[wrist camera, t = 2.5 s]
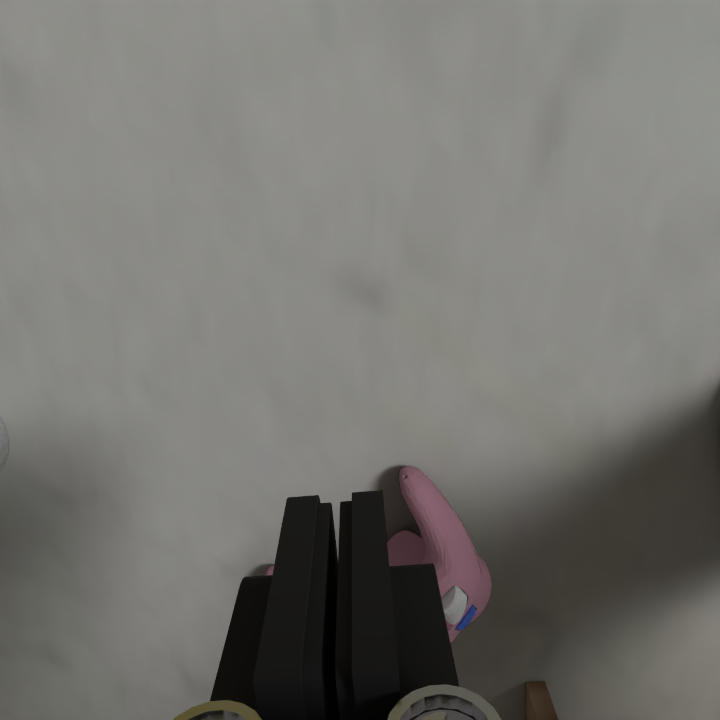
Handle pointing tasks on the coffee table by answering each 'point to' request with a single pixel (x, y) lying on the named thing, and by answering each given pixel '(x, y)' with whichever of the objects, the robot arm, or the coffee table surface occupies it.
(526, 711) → the dock bay
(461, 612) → the video game controller
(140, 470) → the coffee table surface
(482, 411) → the coffee table surface
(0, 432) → the house plant
